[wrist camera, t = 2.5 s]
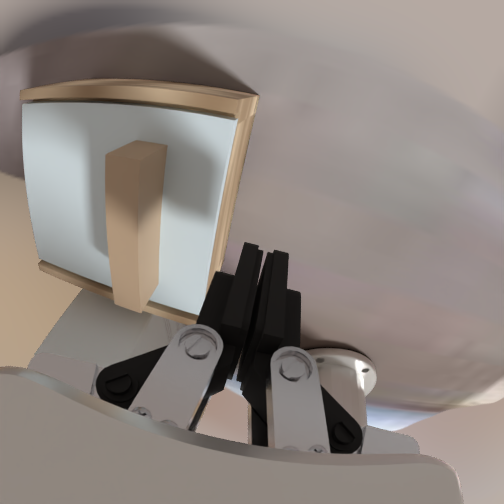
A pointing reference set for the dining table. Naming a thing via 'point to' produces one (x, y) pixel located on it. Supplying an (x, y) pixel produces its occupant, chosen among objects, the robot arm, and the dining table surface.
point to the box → (176, 97)
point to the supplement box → (106, 331)
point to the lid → (127, 195)
